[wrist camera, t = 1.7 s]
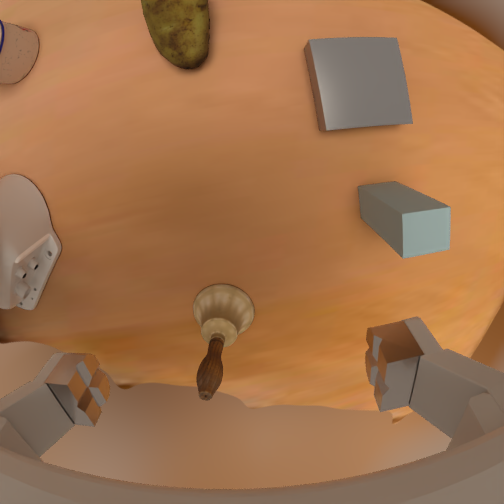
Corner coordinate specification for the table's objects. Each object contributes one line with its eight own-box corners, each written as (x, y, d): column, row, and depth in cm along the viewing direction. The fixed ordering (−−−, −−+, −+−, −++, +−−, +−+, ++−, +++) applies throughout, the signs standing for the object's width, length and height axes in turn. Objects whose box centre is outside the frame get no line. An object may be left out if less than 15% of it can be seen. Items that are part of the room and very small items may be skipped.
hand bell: (196, 335, 45) (173, 420, 30) (190, 283, 41) (158, 363, 27) (254, 336, 44) (252, 424, 29) (254, 283, 41) (251, 366, 26)
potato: (141, 71, 32) (113, 60, 24) (159, -18, 27) (138, -45, 20) (209, 73, 32) (196, 58, 25) (225, -20, 27) (217, -50, 20)
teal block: (397, 212, 37) (449, 249, 25) (360, 218, 38) (402, 258, 26) (395, 181, 36) (450, 207, 24) (358, 186, 36) (402, 214, 24)
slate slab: (398, 123, 33) (412, 123, 30) (319, 130, 34) (326, 130, 30) (384, 45, 30) (396, 37, 26) (303, 48, 31) (308, 39, 27)
